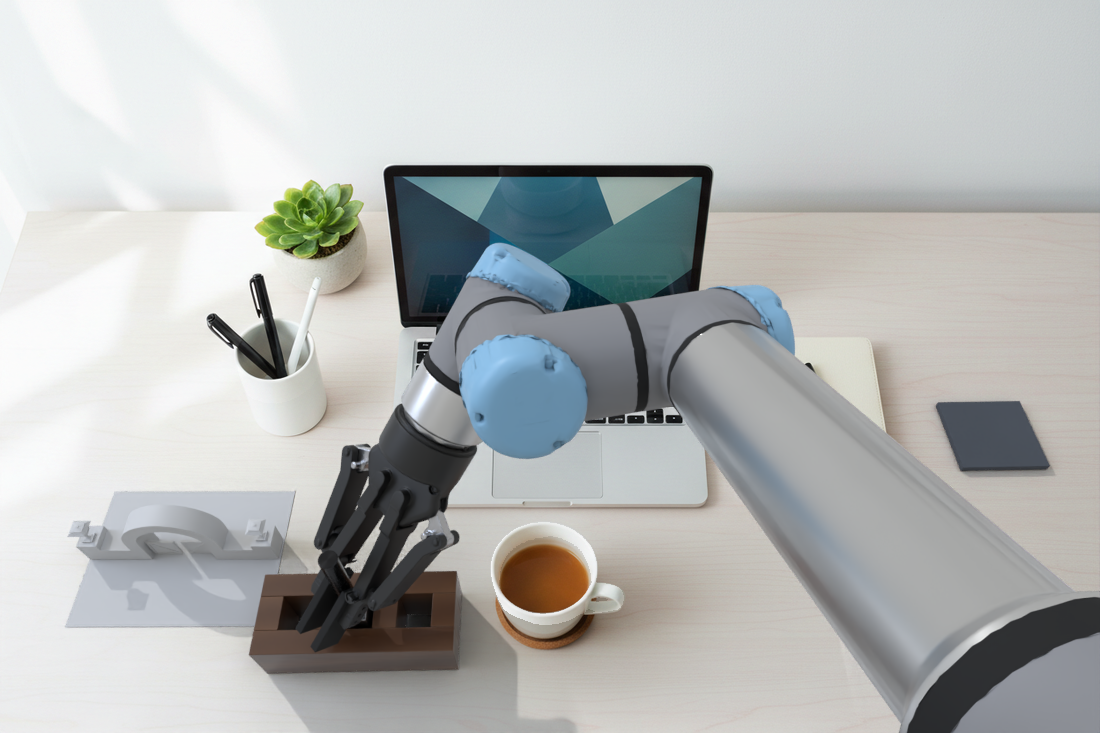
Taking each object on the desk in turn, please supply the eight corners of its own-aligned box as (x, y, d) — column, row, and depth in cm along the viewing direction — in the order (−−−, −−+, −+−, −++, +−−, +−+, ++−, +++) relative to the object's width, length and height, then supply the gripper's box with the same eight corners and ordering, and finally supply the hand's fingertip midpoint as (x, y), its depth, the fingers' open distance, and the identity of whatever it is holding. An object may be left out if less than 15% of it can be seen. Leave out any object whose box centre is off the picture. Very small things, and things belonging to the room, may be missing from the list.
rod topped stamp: (378, 644, 77) (340, 573, 62) (353, 644, 77) (310, 573, 62) (380, 620, 78) (344, 544, 64) (356, 620, 78) (315, 545, 64)
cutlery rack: (458, 669, 75) (453, 650, 71) (267, 674, 75) (248, 655, 70) (462, 593, 80) (457, 570, 75) (281, 596, 80) (264, 574, 75)
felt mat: (1046, 469, 89) (1050, 466, 89) (960, 471, 89) (963, 467, 88) (1016, 404, 95) (1019, 400, 94) (935, 405, 94) (937, 402, 94)
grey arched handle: (90, 559, 82) (52, 526, 75) (98, 539, 83) (61, 504, 77) (278, 559, 82) (256, 526, 75) (283, 538, 83) (261, 504, 77)
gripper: (526, 475, 64) (395, 682, 70) (412, 373, 70) (301, 572, 76) (473, 484, 57) (334, 712, 63) (353, 371, 63) (237, 589, 69)
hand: (316, 635), depth 70 cm, fingers closed on rod topped stamp, 1 cm apart
